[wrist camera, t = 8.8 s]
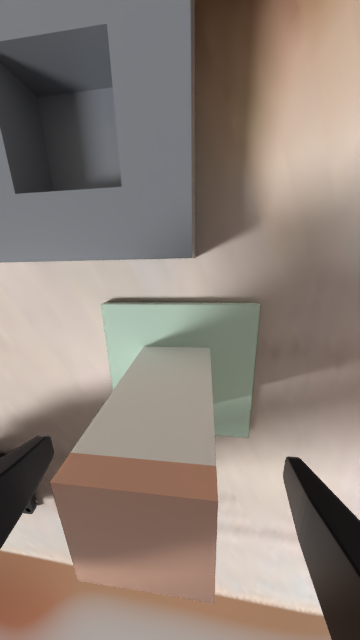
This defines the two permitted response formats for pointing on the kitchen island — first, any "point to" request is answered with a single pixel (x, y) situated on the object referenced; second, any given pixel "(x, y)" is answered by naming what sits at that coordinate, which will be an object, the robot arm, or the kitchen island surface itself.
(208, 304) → the mat
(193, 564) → the plug
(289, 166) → the kitchen island surface
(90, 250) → the grey square socket block
